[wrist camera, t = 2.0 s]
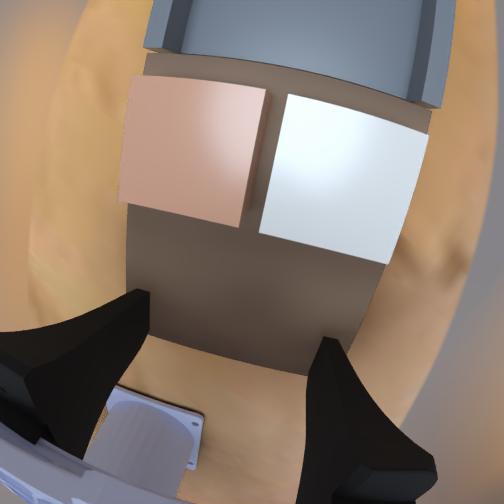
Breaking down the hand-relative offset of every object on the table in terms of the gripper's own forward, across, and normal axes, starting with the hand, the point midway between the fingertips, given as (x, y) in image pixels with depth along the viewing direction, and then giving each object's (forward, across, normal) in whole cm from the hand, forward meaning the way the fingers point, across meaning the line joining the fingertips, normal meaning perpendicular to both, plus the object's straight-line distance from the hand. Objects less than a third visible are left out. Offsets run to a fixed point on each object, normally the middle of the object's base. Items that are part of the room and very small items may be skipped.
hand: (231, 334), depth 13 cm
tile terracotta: (+1, +2, -7) cm, 7 cm away
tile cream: (+1, -2, -7) cm, 7 cm away
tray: (+4, 0, -14) cm, 15 cm away
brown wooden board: (+4, 0, -4) cm, 5 cm away
